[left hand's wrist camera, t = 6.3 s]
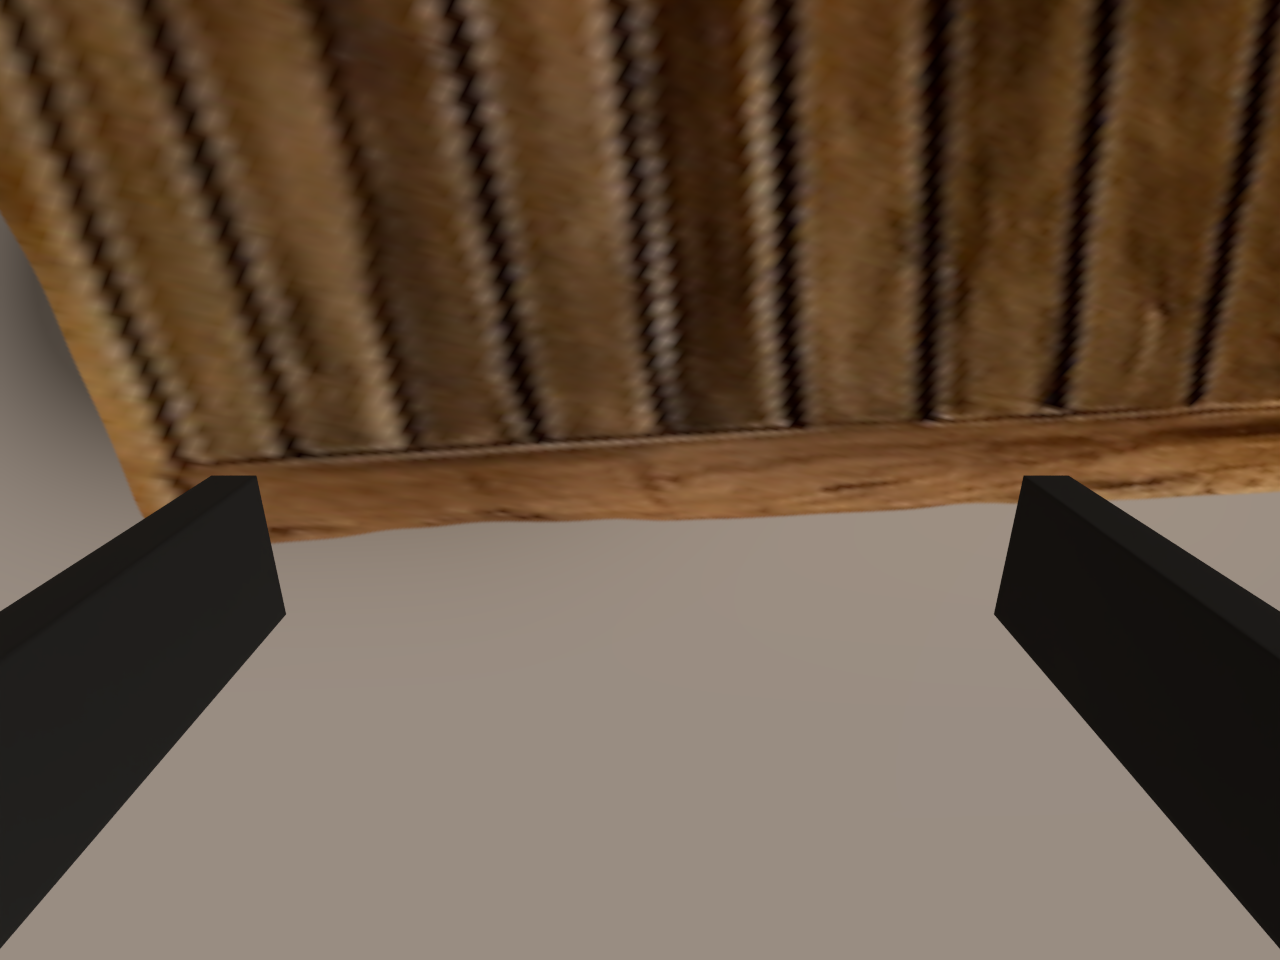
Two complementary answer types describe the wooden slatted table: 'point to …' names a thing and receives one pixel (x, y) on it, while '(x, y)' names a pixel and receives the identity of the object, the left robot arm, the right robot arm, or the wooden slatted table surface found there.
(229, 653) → the left robot arm
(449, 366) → the wooden slatted table surface
